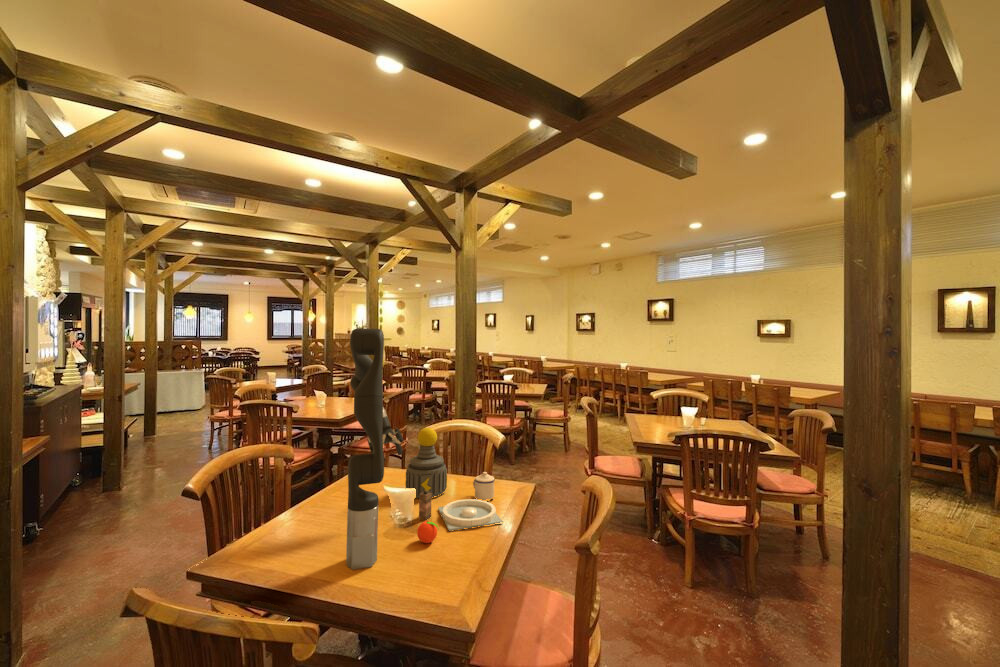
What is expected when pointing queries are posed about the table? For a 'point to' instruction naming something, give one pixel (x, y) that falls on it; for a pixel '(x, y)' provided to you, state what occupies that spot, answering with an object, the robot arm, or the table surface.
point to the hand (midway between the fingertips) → (392, 457)
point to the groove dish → (468, 514)
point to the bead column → (425, 505)
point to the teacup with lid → (484, 486)
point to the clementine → (427, 531)
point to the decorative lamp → (427, 467)
